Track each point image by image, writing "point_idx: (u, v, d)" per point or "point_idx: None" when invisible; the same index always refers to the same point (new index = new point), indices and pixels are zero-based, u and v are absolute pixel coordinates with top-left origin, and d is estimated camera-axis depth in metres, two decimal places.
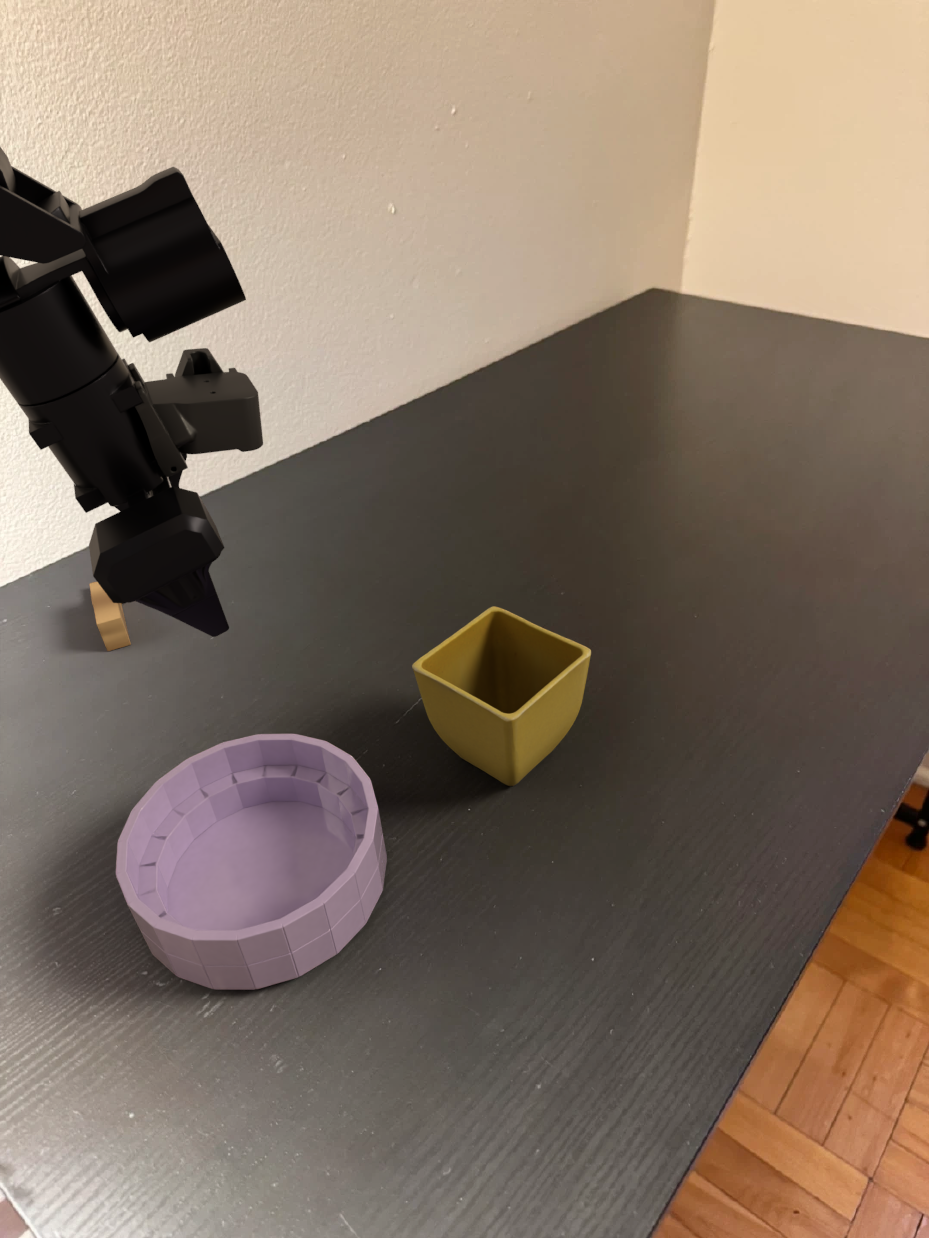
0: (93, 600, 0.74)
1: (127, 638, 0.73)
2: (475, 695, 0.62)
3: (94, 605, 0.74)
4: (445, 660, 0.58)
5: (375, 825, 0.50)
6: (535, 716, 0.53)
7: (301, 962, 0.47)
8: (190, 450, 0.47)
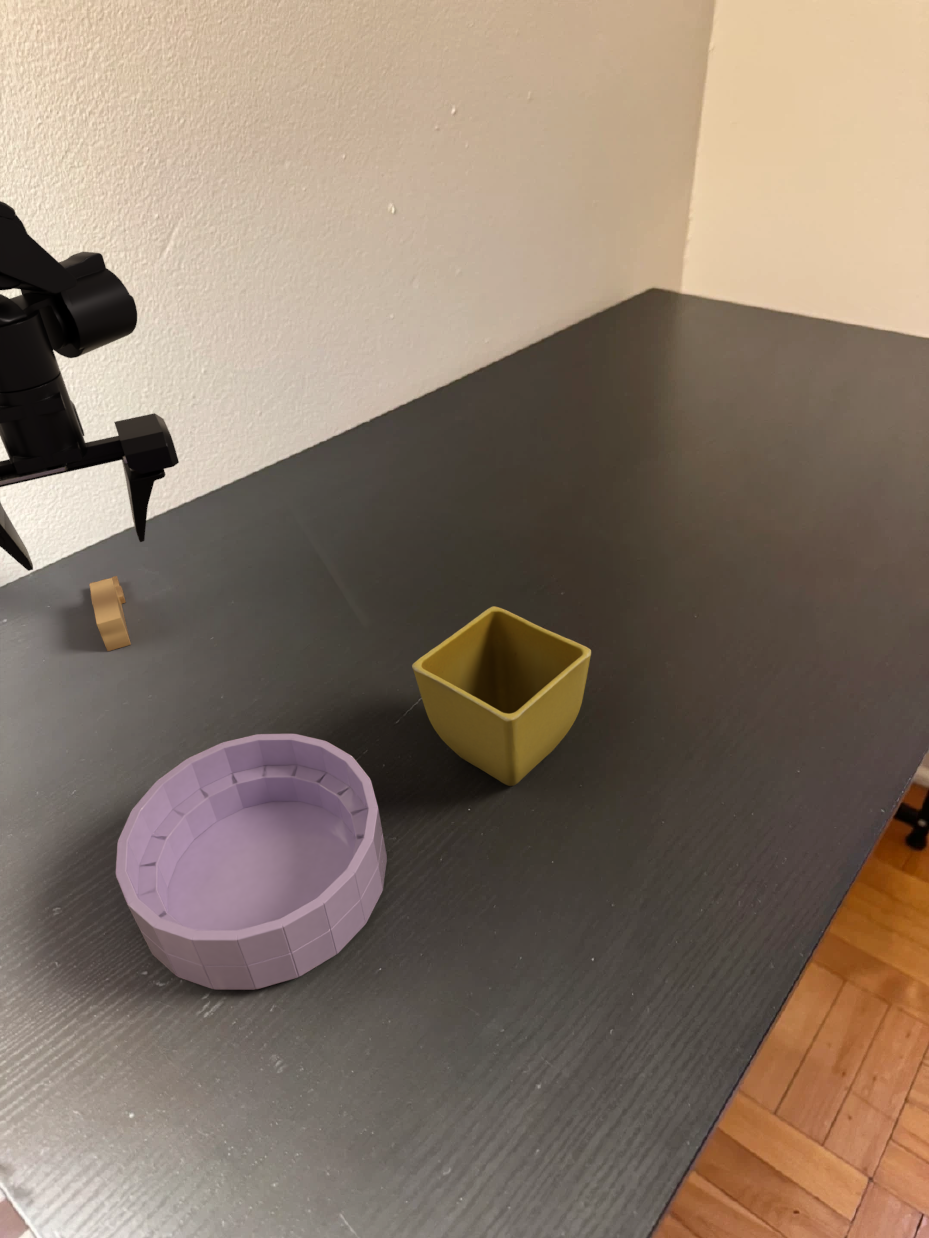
0: (93, 600, 0.74)
1: (127, 638, 0.73)
2: (475, 695, 0.62)
3: (94, 605, 0.74)
4: (445, 660, 0.58)
5: (375, 825, 0.50)
6: (535, 716, 0.53)
7: (301, 962, 0.47)
8: None
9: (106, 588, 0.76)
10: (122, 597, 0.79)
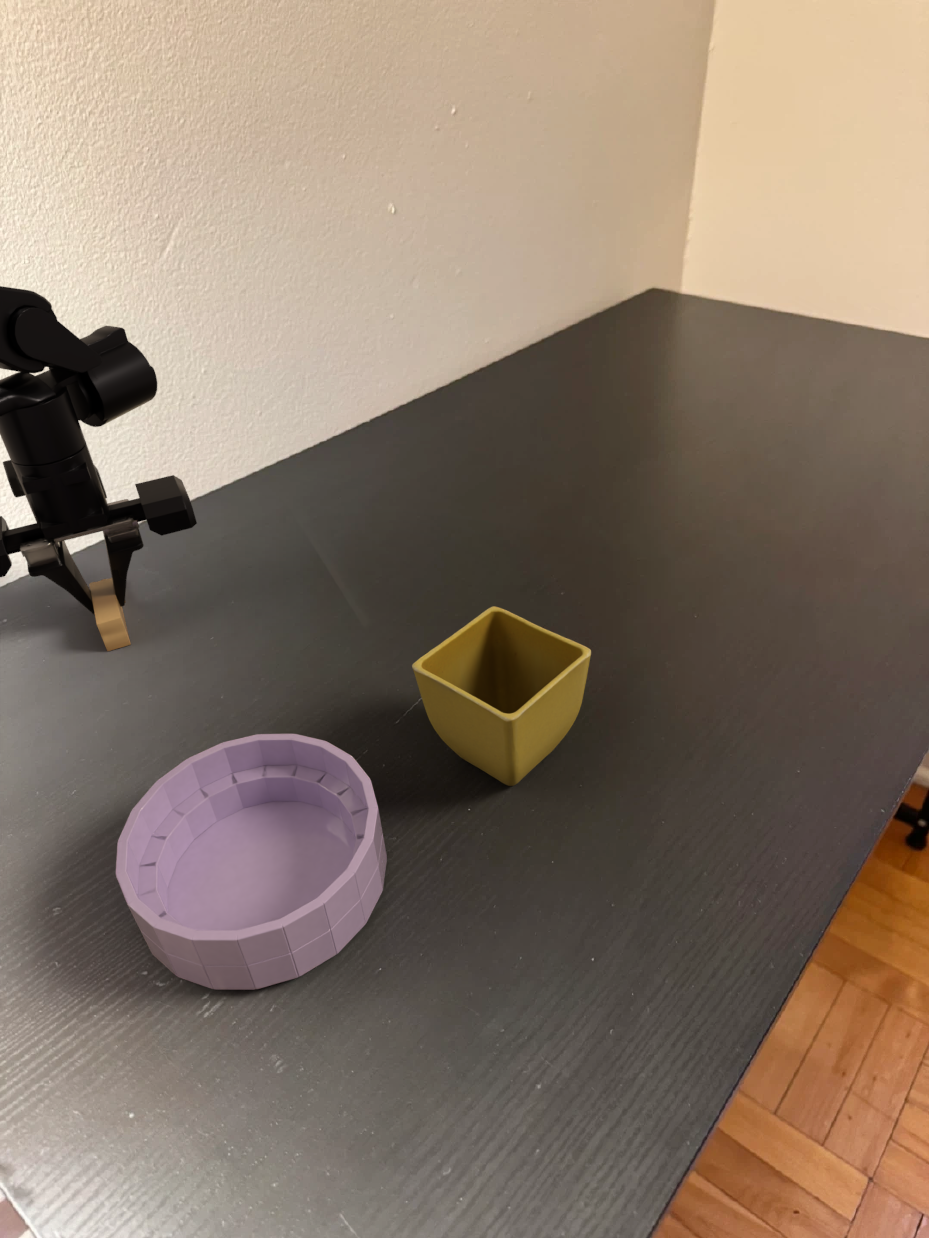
0: (93, 600, 0.74)
1: (127, 638, 0.73)
2: (475, 695, 0.62)
3: (94, 605, 0.74)
4: (445, 660, 0.58)
5: (375, 825, 0.50)
6: (535, 716, 0.53)
7: (301, 962, 0.47)
8: None
9: (106, 588, 0.76)
10: None
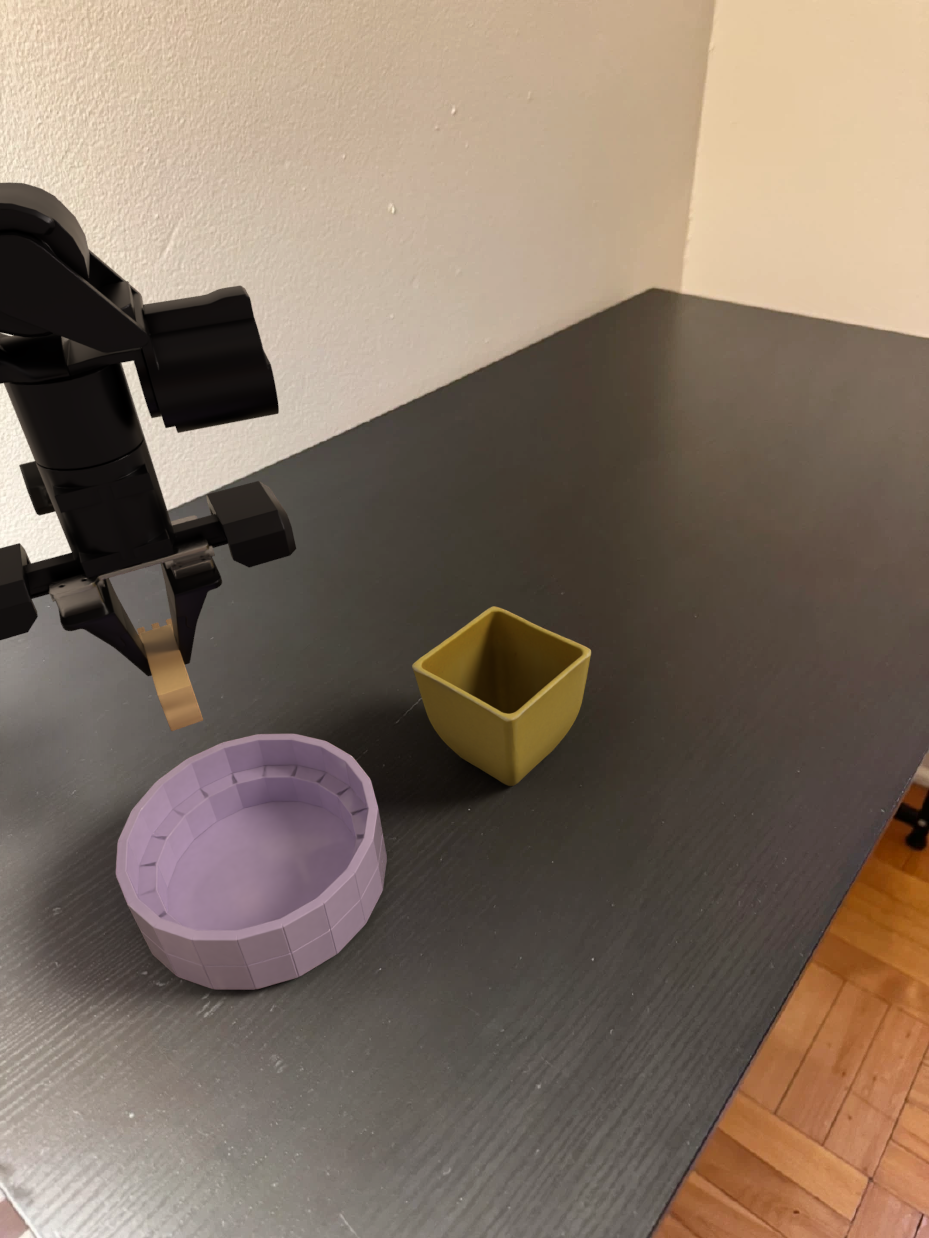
0: (148, 658, 0.53)
1: (199, 712, 0.52)
2: (475, 695, 0.62)
3: (151, 666, 0.52)
4: (445, 660, 0.58)
5: (375, 825, 0.50)
6: (535, 716, 0.53)
7: (301, 962, 0.47)
8: None
9: (165, 639, 0.54)
10: None
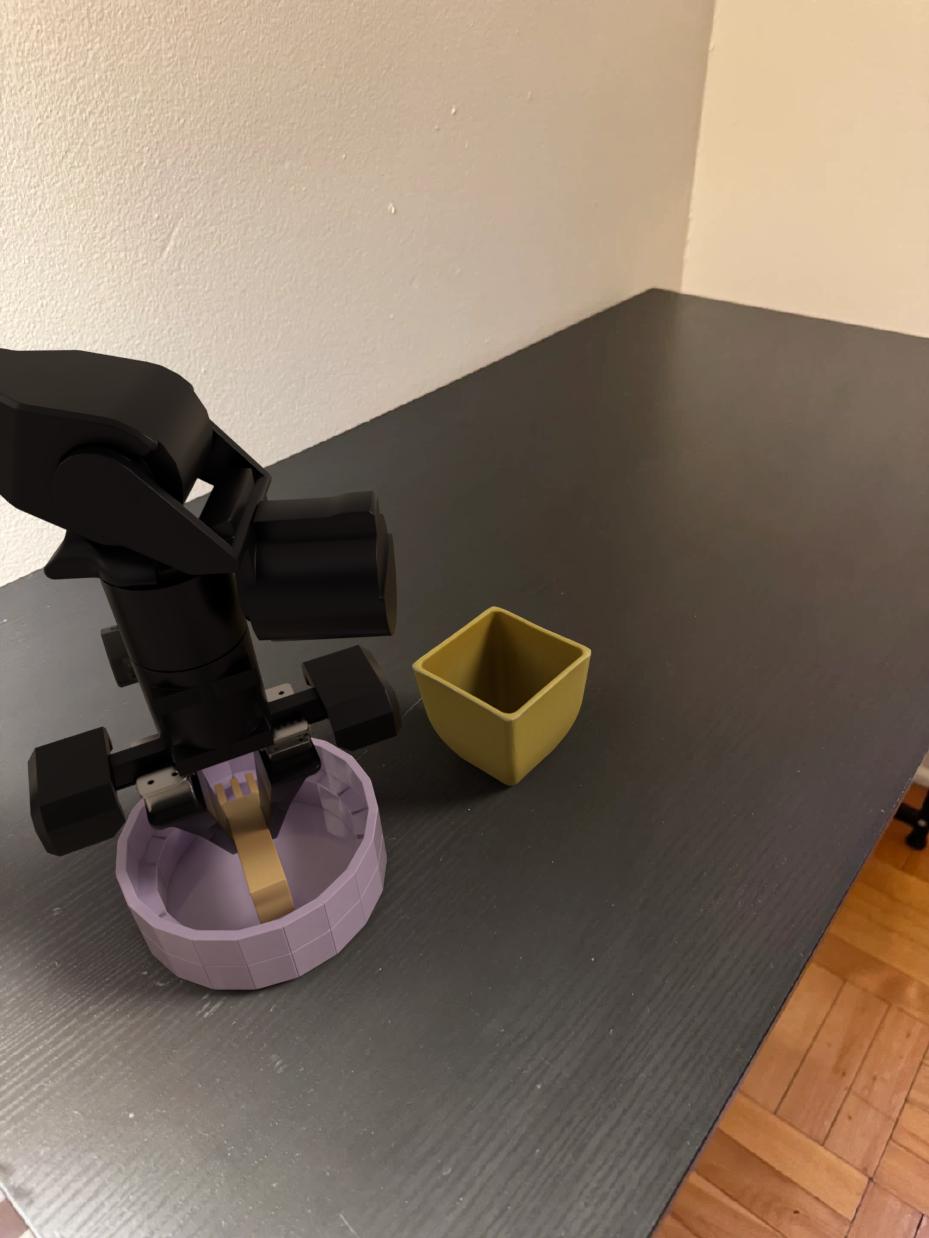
0: (235, 839, 0.48)
1: (291, 903, 0.47)
2: (475, 695, 0.62)
3: (239, 850, 0.47)
4: (445, 660, 0.58)
5: (375, 825, 0.50)
6: (535, 716, 0.53)
7: (301, 962, 0.47)
8: None
9: (251, 813, 0.50)
10: None
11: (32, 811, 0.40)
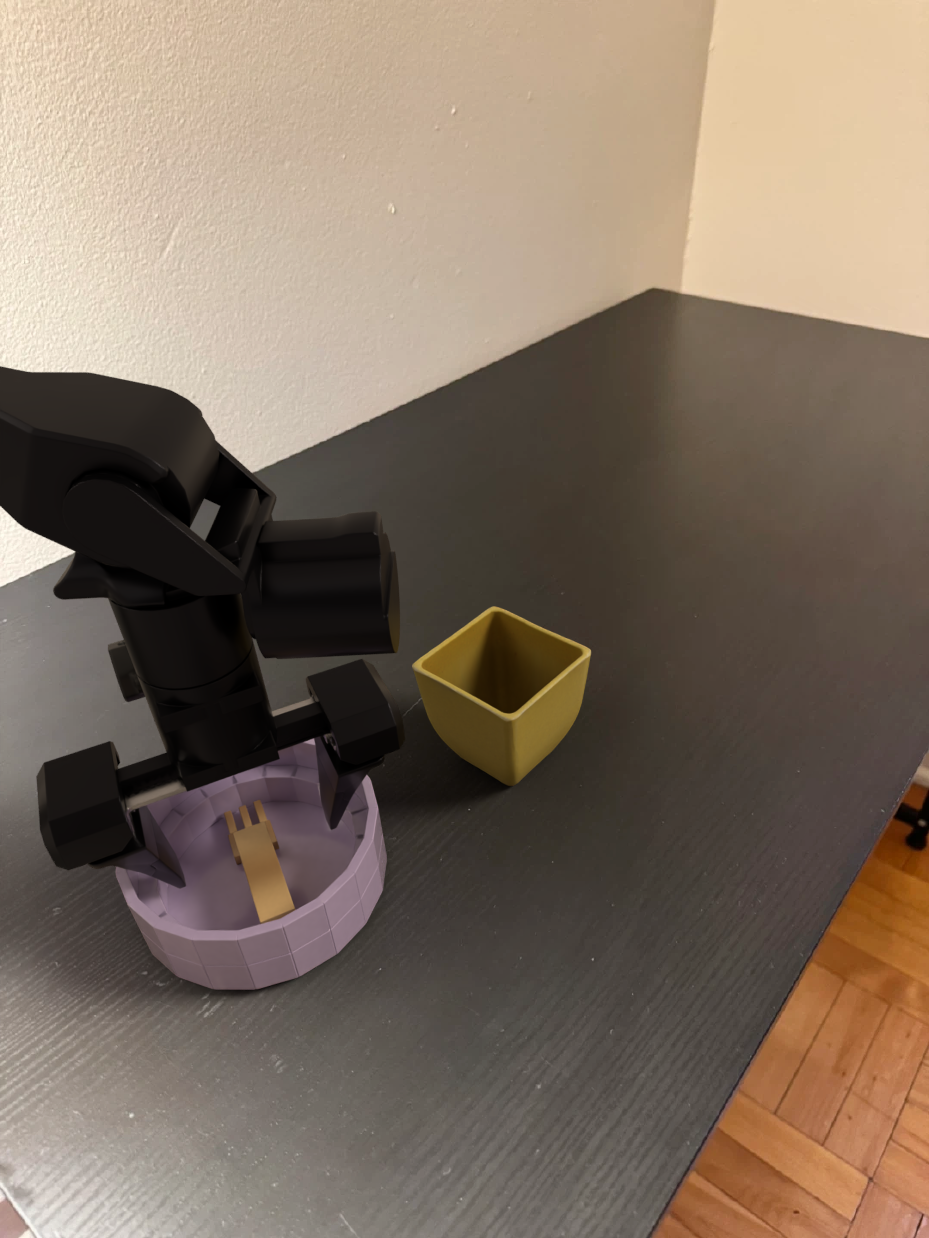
0: (245, 868, 0.50)
1: None
2: (475, 695, 0.62)
3: (249, 879, 0.49)
4: (445, 660, 0.58)
5: (375, 825, 0.50)
6: (535, 716, 0.53)
7: (301, 962, 0.47)
8: None
9: (260, 842, 0.51)
10: (275, 842, 0.54)
11: (41, 826, 0.41)
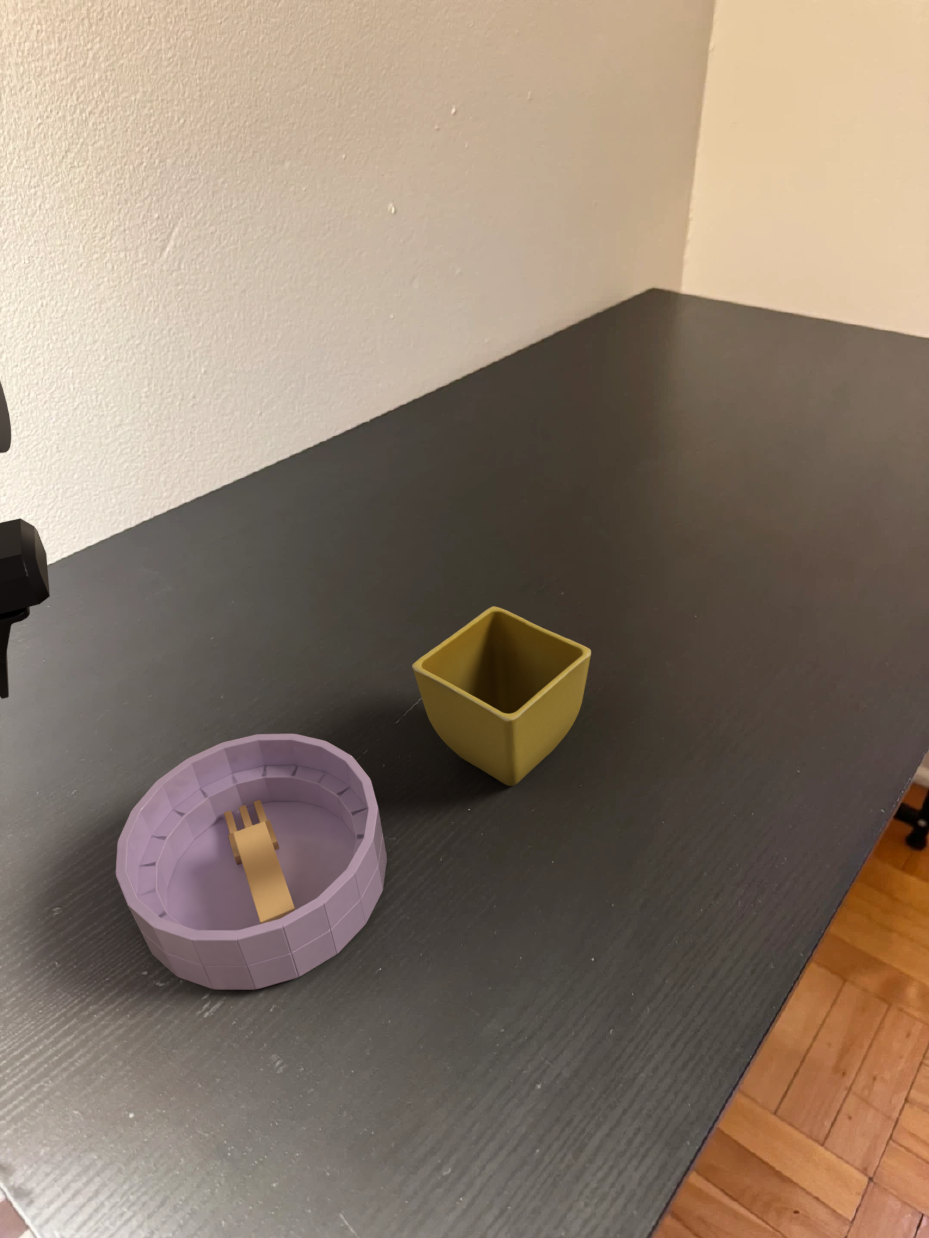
0: (245, 868, 0.50)
1: None
2: (475, 695, 0.62)
3: (249, 879, 0.49)
4: (445, 660, 0.58)
5: (375, 825, 0.50)
6: (535, 716, 0.53)
7: (301, 962, 0.47)
8: None
9: (260, 842, 0.51)
10: (275, 842, 0.54)
11: None
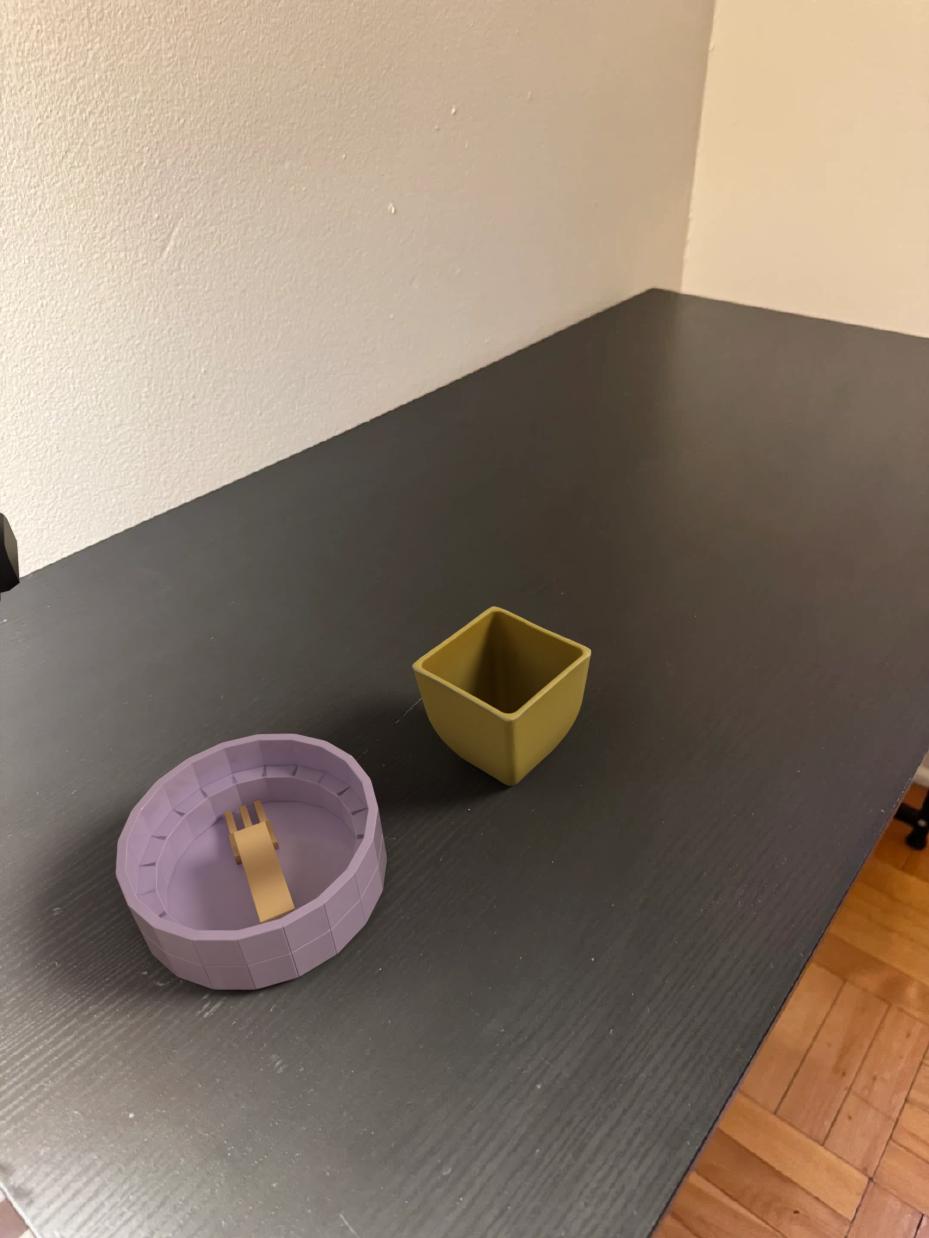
0: (245, 868, 0.50)
1: None
2: (475, 695, 0.62)
3: (249, 879, 0.49)
4: (445, 660, 0.58)
5: (375, 825, 0.50)
6: (535, 716, 0.53)
7: (301, 962, 0.47)
8: None
9: (260, 842, 0.51)
10: (275, 842, 0.54)
11: None
